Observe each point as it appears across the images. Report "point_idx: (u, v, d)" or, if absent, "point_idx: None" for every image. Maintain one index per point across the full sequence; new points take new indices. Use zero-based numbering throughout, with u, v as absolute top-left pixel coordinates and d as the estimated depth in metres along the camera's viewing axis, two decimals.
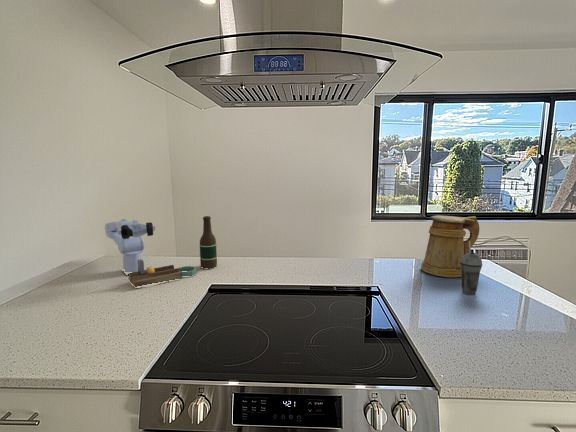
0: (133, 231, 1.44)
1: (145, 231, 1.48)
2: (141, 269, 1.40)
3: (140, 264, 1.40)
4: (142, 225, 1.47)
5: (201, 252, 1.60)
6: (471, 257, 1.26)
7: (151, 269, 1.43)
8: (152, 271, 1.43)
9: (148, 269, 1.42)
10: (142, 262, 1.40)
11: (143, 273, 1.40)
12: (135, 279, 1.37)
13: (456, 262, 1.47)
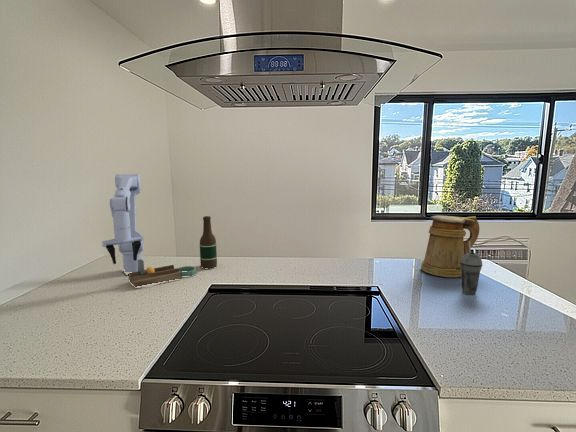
0: (119, 244, 1.35)
1: None
2: (141, 269, 1.40)
3: (140, 264, 1.40)
4: None
5: (201, 252, 1.60)
6: (471, 257, 1.26)
7: (151, 269, 1.43)
8: (152, 271, 1.43)
9: (148, 269, 1.42)
10: (142, 262, 1.40)
11: (143, 273, 1.40)
12: (135, 279, 1.37)
13: (456, 262, 1.47)
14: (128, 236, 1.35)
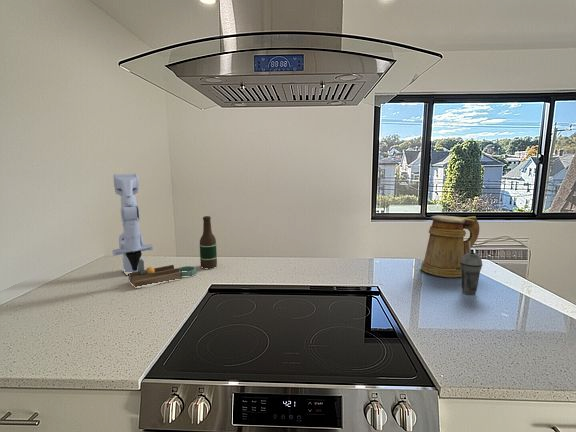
0: None
1: None
2: (141, 269, 1.40)
3: (140, 264, 1.40)
4: None
5: (201, 252, 1.60)
6: (471, 257, 1.26)
7: (151, 269, 1.43)
8: (152, 271, 1.43)
9: (148, 269, 1.42)
10: (142, 262, 1.40)
11: (143, 273, 1.40)
12: (135, 279, 1.37)
13: (456, 262, 1.47)
14: (138, 245, 1.37)
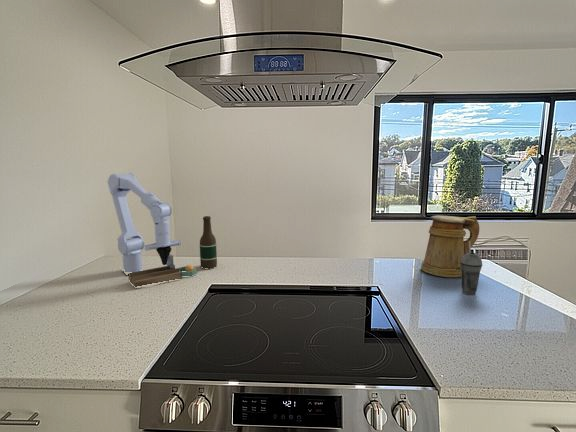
0: None
1: None
2: (171, 263, 1.47)
3: (170, 259, 1.47)
4: None
5: (201, 252, 1.60)
6: (471, 257, 1.26)
7: None
8: (190, 269, 1.53)
9: None
10: (172, 257, 1.47)
11: (172, 267, 1.48)
12: (135, 279, 1.37)
13: (456, 262, 1.47)
14: (168, 240, 1.45)
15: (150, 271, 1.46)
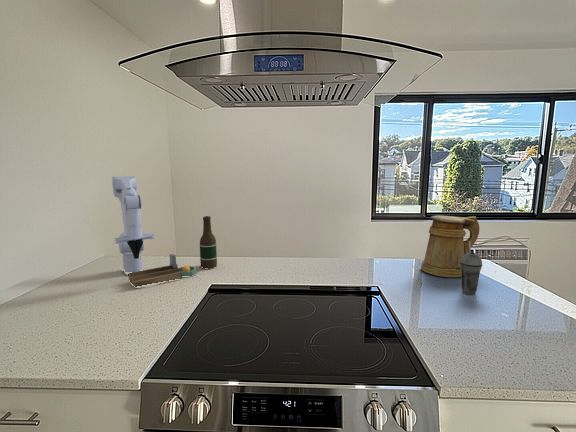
0: None
1: None
2: (173, 263, 1.48)
3: (172, 258, 1.48)
4: None
5: (201, 252, 1.60)
6: (471, 257, 1.26)
7: None
8: (186, 271, 1.52)
9: (189, 270, 1.53)
10: (174, 256, 1.48)
11: (175, 267, 1.48)
12: (135, 279, 1.37)
13: (456, 262, 1.47)
14: (140, 233, 1.40)
15: (150, 271, 1.46)
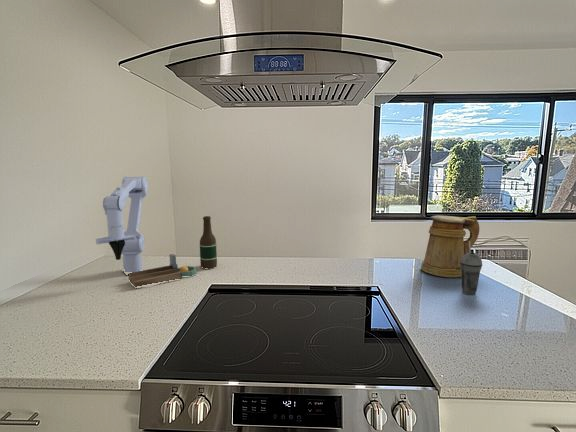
0: None
1: None
2: (173, 263, 1.48)
3: (172, 258, 1.48)
4: None
5: (201, 252, 1.60)
6: (471, 257, 1.26)
7: None
8: None
9: None
10: (174, 256, 1.48)
11: (175, 267, 1.48)
12: (135, 279, 1.37)
13: (456, 262, 1.47)
14: (121, 234, 1.39)
15: (150, 271, 1.46)
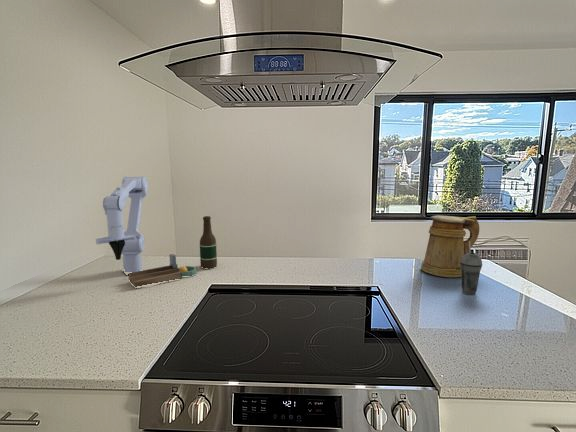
0: None
1: None
2: (173, 263, 1.48)
3: (172, 258, 1.48)
4: None
5: (201, 252, 1.60)
6: (471, 257, 1.26)
7: (186, 271, 1.52)
8: None
9: (186, 269, 1.52)
10: (174, 256, 1.48)
11: (175, 267, 1.48)
12: (135, 279, 1.37)
13: (456, 262, 1.47)
14: (121, 234, 1.39)
15: (150, 271, 1.46)
